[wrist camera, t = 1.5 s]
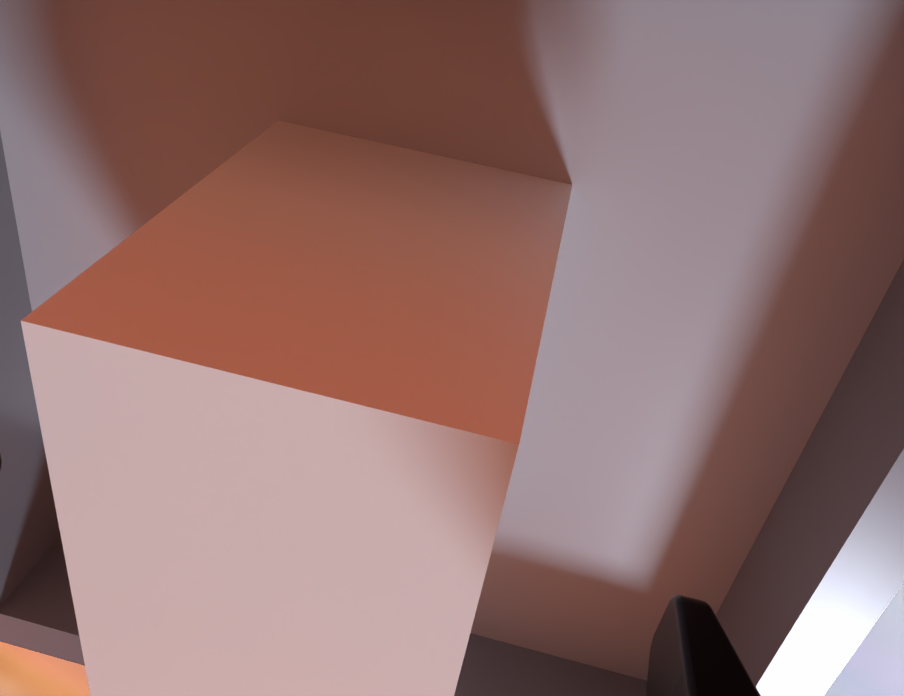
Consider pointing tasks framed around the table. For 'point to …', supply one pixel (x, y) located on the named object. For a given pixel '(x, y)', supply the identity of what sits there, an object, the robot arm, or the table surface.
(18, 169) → the grey square tray
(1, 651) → the table surface
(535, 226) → the block
